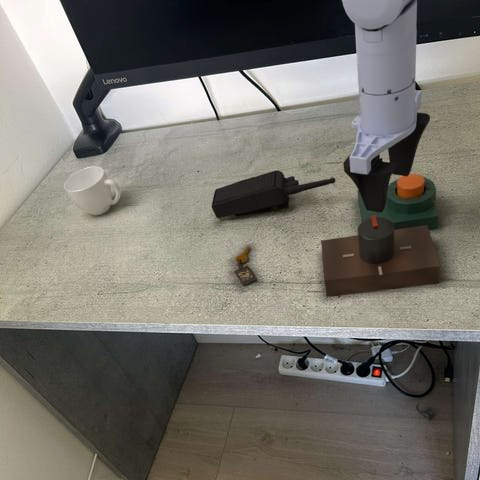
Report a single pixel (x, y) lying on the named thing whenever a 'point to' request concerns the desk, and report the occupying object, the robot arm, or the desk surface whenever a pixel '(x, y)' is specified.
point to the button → (410, 186)
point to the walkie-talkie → (259, 194)
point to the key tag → (244, 269)
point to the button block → (407, 208)
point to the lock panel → (380, 264)
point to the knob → (376, 239)
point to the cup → (92, 190)
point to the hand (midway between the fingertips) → (388, 191)
